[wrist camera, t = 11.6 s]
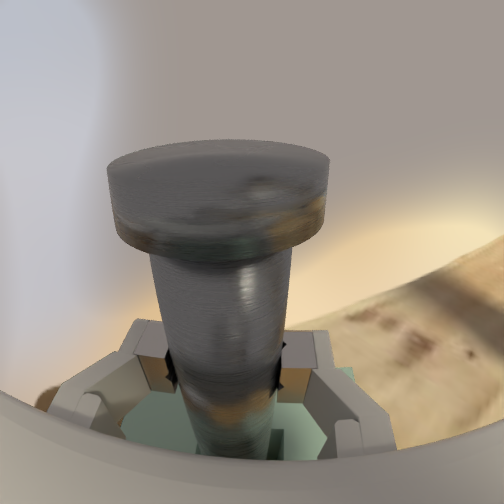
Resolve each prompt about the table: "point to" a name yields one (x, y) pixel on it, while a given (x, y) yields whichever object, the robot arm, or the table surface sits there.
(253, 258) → the pin
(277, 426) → the socket block
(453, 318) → the table surface
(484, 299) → the table surface
